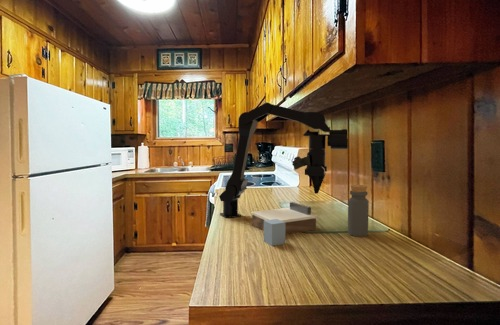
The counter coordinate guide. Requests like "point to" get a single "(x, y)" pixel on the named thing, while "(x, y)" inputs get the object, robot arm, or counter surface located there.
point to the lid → (287, 213)
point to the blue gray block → (274, 232)
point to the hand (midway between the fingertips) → (316, 193)
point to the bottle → (358, 211)
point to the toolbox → (288, 225)
